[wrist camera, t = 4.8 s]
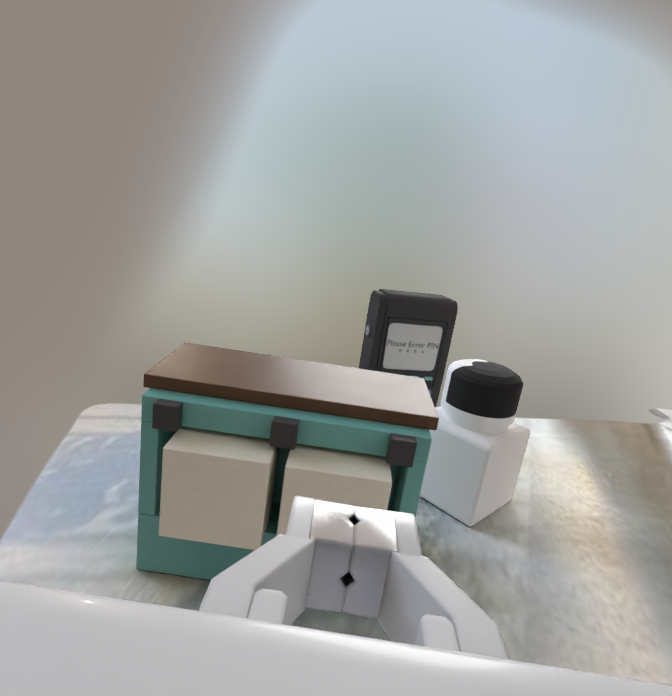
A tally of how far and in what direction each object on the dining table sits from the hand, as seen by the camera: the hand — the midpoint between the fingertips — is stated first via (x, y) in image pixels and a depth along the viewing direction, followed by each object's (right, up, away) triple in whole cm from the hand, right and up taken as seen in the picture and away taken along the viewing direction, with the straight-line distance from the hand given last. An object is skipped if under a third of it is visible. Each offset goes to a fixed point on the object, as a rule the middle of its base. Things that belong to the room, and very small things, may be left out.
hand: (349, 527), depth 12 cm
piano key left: (-7, -6, +16) cm, 19 cm away
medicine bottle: (+10, -9, +32) cm, 34 cm away
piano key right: (-1, -7, +16) cm, 18 cm away
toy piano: (-4, -9, +22) cm, 24 cm away
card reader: (+6, -4, +44) cm, 45 cm away
